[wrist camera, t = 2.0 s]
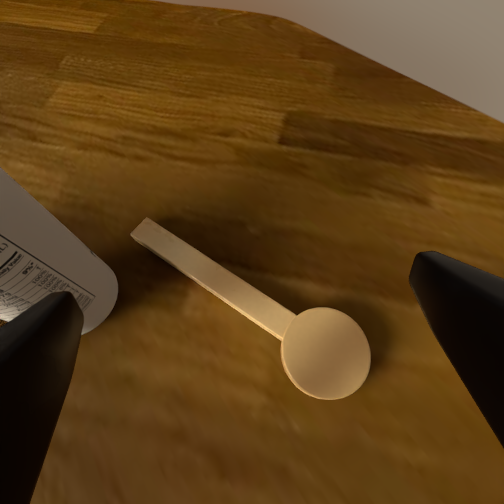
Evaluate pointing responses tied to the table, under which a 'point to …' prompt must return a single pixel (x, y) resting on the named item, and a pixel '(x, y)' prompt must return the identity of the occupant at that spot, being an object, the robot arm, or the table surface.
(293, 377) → the wooden spoon
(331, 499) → the table surface
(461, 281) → the robot arm
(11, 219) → the energy drink can
